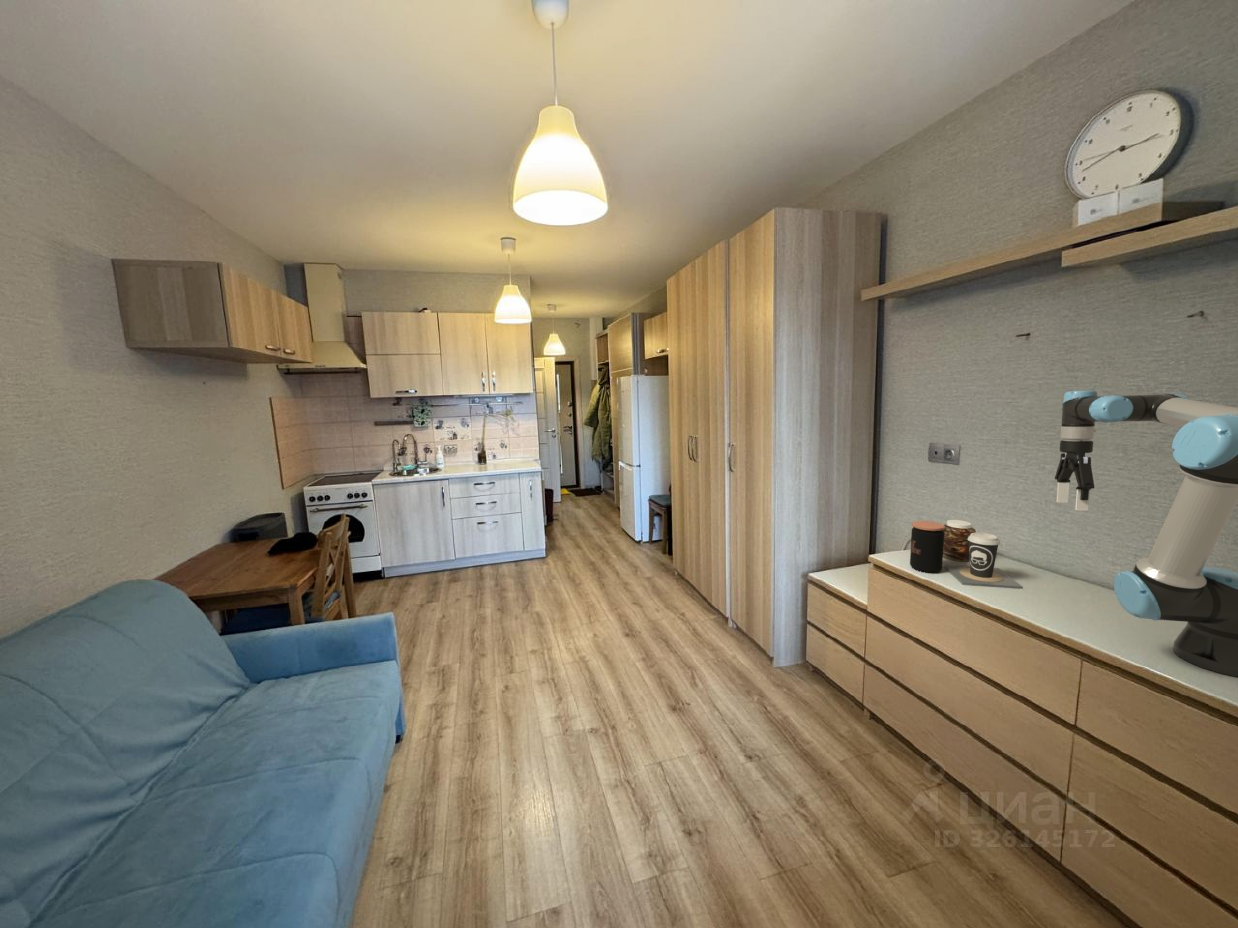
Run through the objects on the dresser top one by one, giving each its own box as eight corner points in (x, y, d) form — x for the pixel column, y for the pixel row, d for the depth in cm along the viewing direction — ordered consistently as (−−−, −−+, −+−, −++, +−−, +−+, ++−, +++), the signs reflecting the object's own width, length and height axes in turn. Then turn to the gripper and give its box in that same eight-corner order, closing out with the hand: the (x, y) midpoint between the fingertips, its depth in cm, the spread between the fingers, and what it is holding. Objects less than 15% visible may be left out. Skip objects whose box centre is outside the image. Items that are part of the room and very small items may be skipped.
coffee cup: (1003, 580, 169) (1006, 539, 166) (973, 578, 171) (976, 539, 168) (988, 570, 178) (991, 532, 176) (960, 569, 180) (962, 531, 178)
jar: (976, 556, 196) (978, 521, 194) (972, 564, 187) (974, 527, 185) (942, 550, 204) (944, 517, 202) (937, 558, 195) (939, 523, 193)
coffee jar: (908, 562, 191) (911, 519, 189) (940, 566, 186) (943, 522, 184) (910, 571, 182) (913, 526, 180) (943, 575, 177) (946, 529, 174)
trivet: (1022, 588, 163) (1023, 586, 163) (962, 584, 168) (962, 582, 168) (998, 570, 180) (998, 567, 180) (943, 566, 185) (944, 564, 185)
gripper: (1113, 442, 135) (1107, 514, 137) (1074, 437, 157) (1069, 499, 160) (1079, 442, 138) (1074, 513, 140) (1045, 437, 160) (1041, 498, 163)
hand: (1071, 506), depth 150 cm, fingers open, 13 cm apart
